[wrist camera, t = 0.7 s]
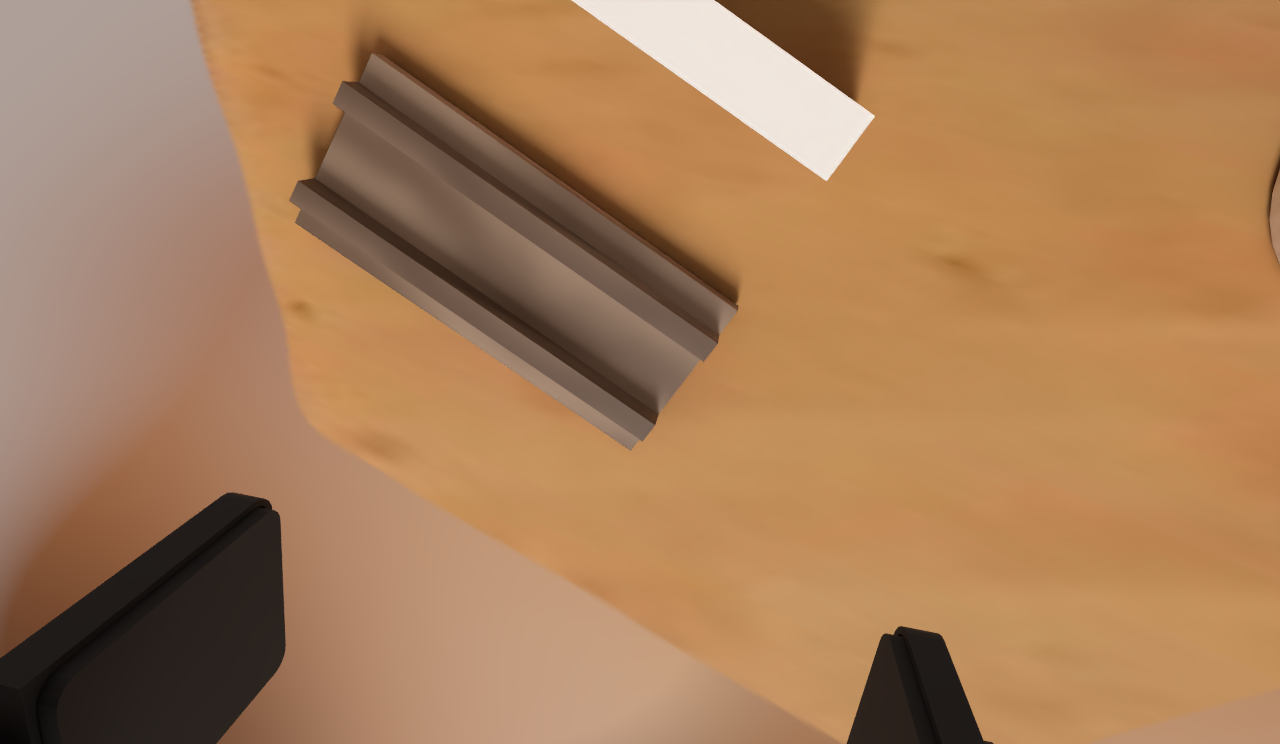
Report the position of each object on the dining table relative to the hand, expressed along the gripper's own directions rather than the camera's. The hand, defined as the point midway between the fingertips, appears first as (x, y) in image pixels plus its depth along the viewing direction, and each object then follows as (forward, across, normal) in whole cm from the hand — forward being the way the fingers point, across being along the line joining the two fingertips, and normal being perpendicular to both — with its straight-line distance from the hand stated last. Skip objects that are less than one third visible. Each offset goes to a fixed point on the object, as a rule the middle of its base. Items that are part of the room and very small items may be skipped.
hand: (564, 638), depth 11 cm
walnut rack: (+28, +9, +1) cm, 30 cm away
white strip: (+28, +1, -11) cm, 30 cm away
